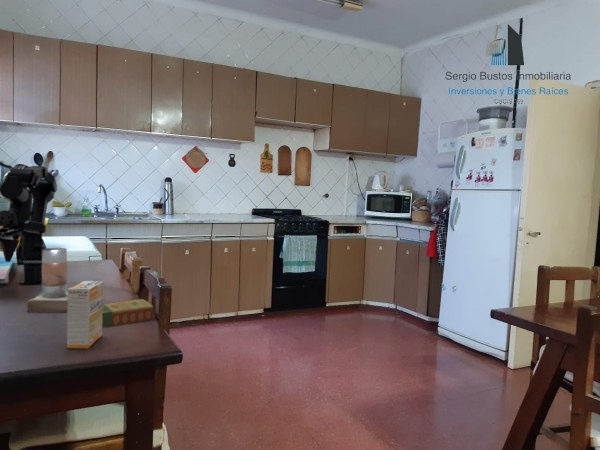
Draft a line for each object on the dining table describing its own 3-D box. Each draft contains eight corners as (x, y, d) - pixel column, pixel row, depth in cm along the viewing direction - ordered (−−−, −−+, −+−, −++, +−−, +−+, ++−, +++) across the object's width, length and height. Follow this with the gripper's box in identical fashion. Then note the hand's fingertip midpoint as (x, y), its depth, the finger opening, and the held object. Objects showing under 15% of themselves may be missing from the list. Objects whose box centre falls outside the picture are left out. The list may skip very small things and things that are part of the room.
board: (42, 302, 128) (42, 291, 127) (79, 302, 129) (79, 291, 129) (27, 312, 118) (27, 300, 118) (68, 312, 120) (68, 300, 119)
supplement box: (89, 349, 95) (90, 289, 94) (66, 348, 95) (66, 288, 93) (103, 336, 103) (104, 280, 102) (82, 335, 103) (82, 279, 102)
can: (53, 291, 127) (53, 247, 126) (72, 294, 126) (71, 248, 124) (36, 297, 121) (36, 250, 120) (55, 299, 120) (55, 252, 118)
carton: (153, 321, 117) (153, 305, 117) (87, 331, 107) (87, 313, 107) (142, 312, 123) (143, 297, 123) (79, 321, 113) (79, 305, 113)
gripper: (-25, 209, 132) (-31, 261, 128) (8, 196, 122) (3, 252, 119) (14, 215, 141) (10, 264, 137) (48, 204, 132) (44, 256, 128)
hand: (16, 259), depth 130 cm, fingers open, 9 cm apart
